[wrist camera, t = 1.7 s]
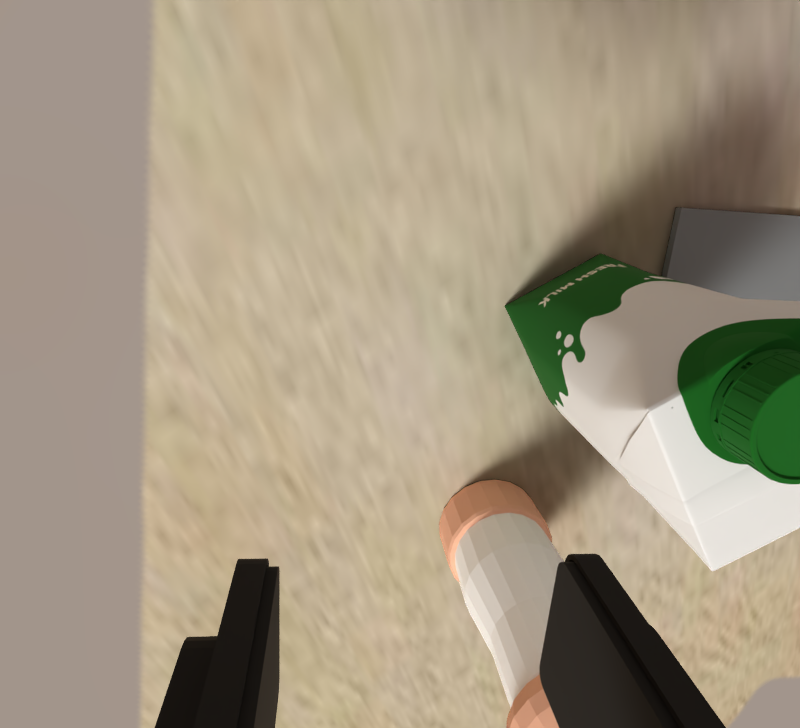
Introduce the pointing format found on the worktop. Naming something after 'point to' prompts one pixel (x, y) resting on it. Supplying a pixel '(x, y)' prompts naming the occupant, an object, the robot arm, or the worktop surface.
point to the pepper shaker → (505, 585)
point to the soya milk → (677, 396)
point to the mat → (736, 253)
